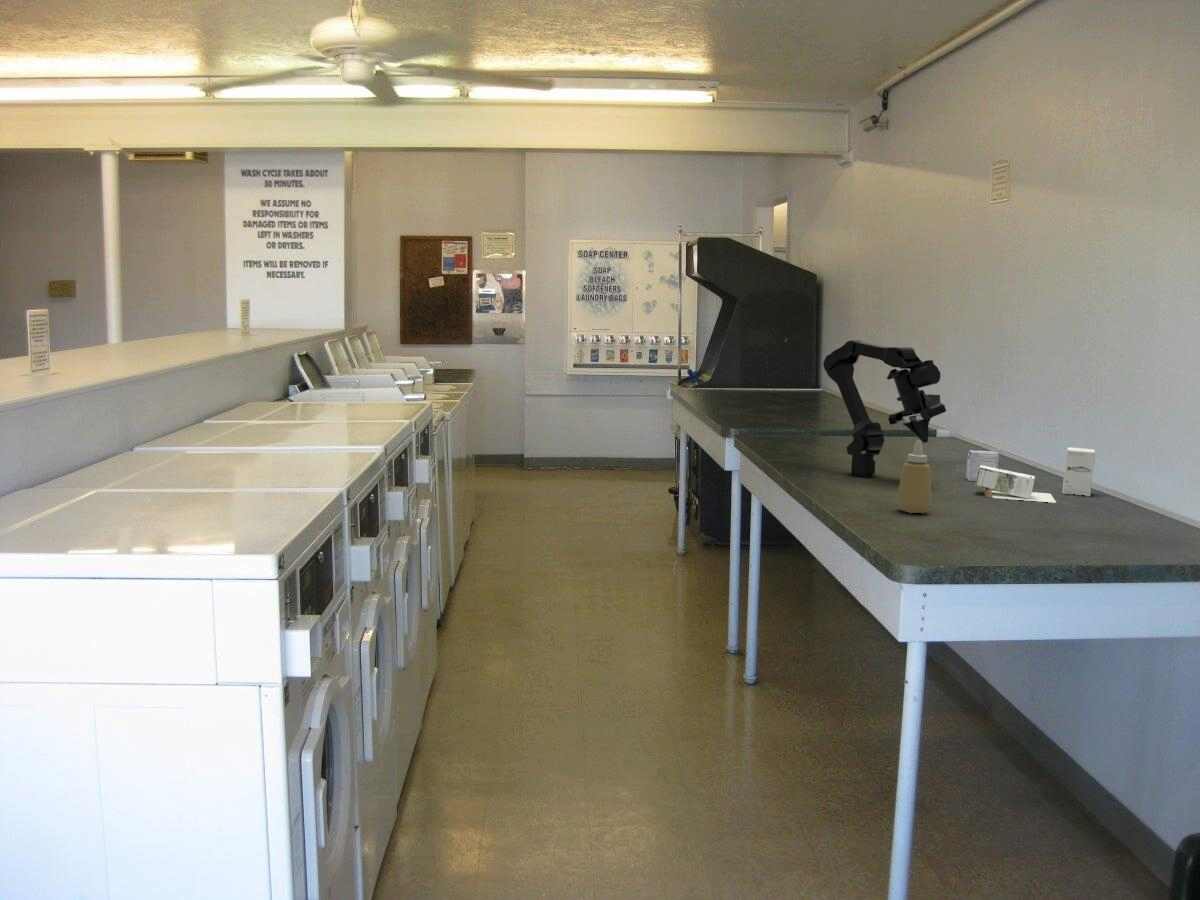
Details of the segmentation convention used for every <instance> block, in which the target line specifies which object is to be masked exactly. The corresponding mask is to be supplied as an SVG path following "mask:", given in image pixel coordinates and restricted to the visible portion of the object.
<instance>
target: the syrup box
mask: <svg viewBox="0 0 1200 900" xmlns="http://www.w3.org/2000/svg"><path fill="white" fill-rule="evenodd" d="M1035 480H1036V476H1035V475H1030V474H1027V473H1021V472H1017V471H1012V470H1008V469H1003V468H998V467H997V468H994V467H989V466H985V465H980V467H979V471H978V475H977V479H976V481H975V484H974V487H976V488H979V489H982V490H983V489H987V490H992V491H997V492H1001V493H1005V494H1010V495H1014V496H1019V497H1023V498H1030V497H1031V494H1032V492H1033V488H1034V484H1035Z"/></svg>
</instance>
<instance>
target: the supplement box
mask: <svg viewBox="0 0 1200 900" xmlns="http://www.w3.org/2000/svg"><path fill="white" fill-rule="evenodd" d="M1065 453H1066V454H1065V461H1064V462H1065V463H1064V473H1063V479H1062V480H1063V481H1062V482H1063V483H1062V491H1061V493H1063V494H1062V495H1073V494H1075V495H1074V496H1081V495H1085V496H1084V497H1089V496H1090V497H1091V492H1092V485H1093V484H1092V483H1093V473H1094V467H1095V466H1094V464H1095V457H1096V449H1091V448H1084V447H1083V448H1082V447H1073V446H1072V447H1071V446H1069V447H1068V446H1067V448H1066V452H1065Z"/></svg>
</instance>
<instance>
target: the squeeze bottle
mask: <svg viewBox="0 0 1200 900" xmlns="http://www.w3.org/2000/svg"><path fill="white" fill-rule="evenodd" d="M927 462H928V455H927V454H924V452H923V442H922V441H921V440H920V439H916V441H915V444H914V447H913V450H912V453H909V454H907V462H904V463H903V464H902V470H901V474H900V481H899V485H898V490H897V501H898V503H899V508H900V511H901V510H902V511H901V512H903V511H905V512H904V513H906V512H910V513H909V514H911V513H922V514H926V512H927V510H928V508H929V505H930V503H931V501H932V479H931V475H932V474H931V472H932V471H931V469H932V468H931V466H930V465H929V464H928V463H927Z"/></svg>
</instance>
